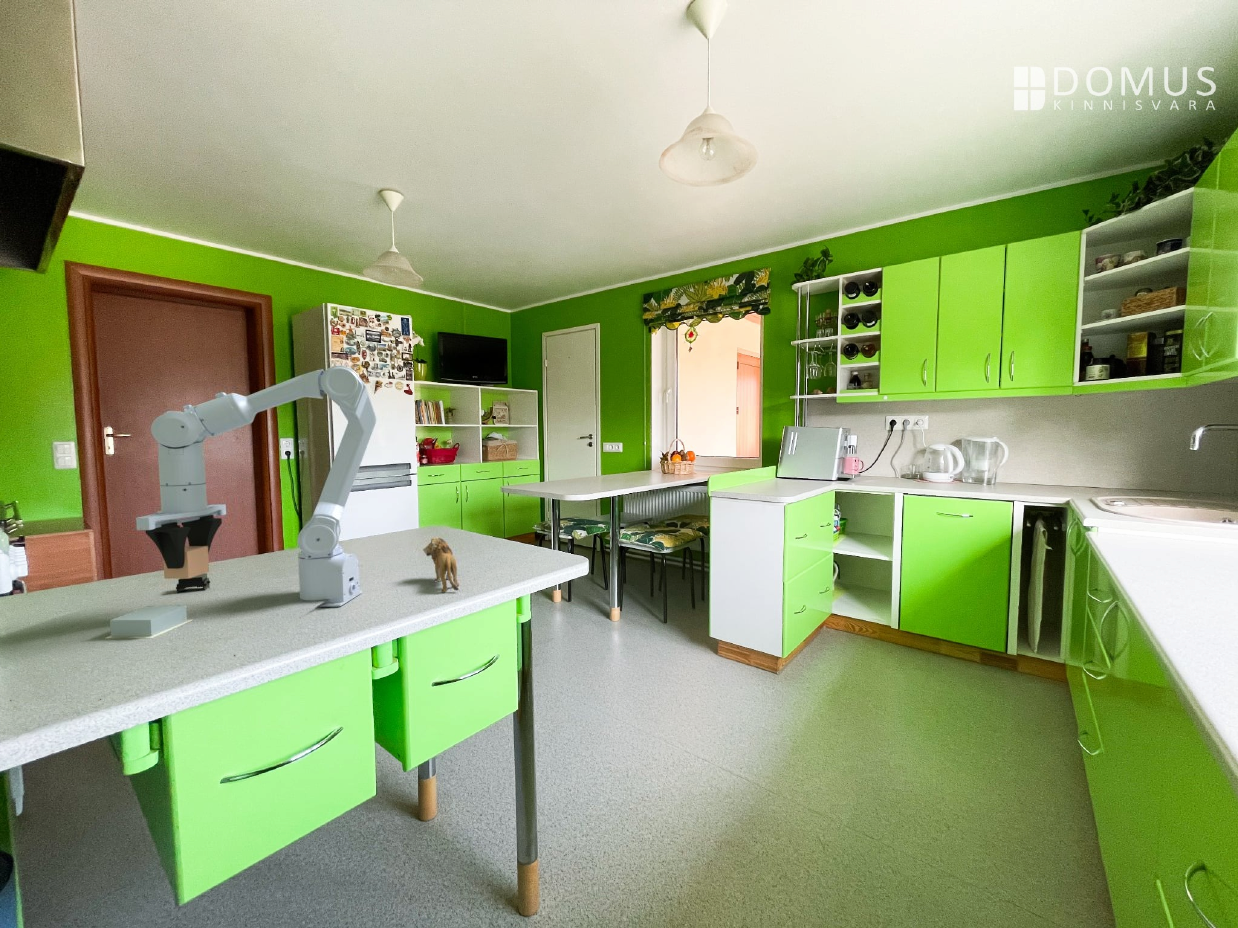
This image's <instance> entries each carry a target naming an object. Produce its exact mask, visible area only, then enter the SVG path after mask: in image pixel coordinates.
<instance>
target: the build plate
mask: <svg viewBox="0 0 1238 928" xmlns="http://www.w3.org/2000/svg"><path fill="white" fill-rule="evenodd" d="M177 581H178V582H177V583H176V586H175V590H176V594H177V595H178V594H180V593H182V592H183V591H184V590H185V589H190V588H202V591H203V592H205V591H206V590H207V589H210V584H211V580H210V577H208V572H207V573H204V574H201V575H198V576H195V577H192V578H189V579H178V580H177Z"/></svg>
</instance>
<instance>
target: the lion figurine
mask: <svg viewBox="0 0 1238 928" xmlns="http://www.w3.org/2000/svg"><path fill="white" fill-rule="evenodd" d="M422 551H423V552H424V553H425V555H426V557H430V556H431V560H432V561H433V564H434V572H435V575H436V578H434V580H433V582H434V581H437V582H436V583H438V581H439V582H441V584H442V588H441V593H445V592H448V586H447V580H449V581H448V582H449V584H450V585H451V587H452V588H453V590H454V591H459V586H460V583H459V582H458V579H457V575H458V574H457V573H458V572H457V571H458V566H457V561H456V558H455V557H454V555H453V551H452V549H451V548H450V545H449V544H448V543H447V542H446V541H445V540H444V539H443V538H441V537H433V538H431V539H430V543H429V544H428V545H426V547H424V548H423V549H422ZM446 578H447V579H446Z"/></svg>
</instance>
